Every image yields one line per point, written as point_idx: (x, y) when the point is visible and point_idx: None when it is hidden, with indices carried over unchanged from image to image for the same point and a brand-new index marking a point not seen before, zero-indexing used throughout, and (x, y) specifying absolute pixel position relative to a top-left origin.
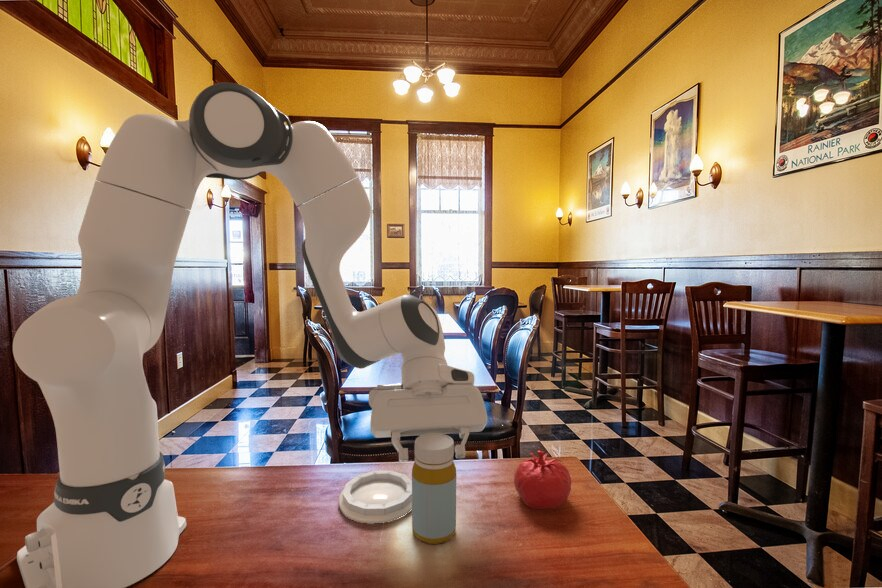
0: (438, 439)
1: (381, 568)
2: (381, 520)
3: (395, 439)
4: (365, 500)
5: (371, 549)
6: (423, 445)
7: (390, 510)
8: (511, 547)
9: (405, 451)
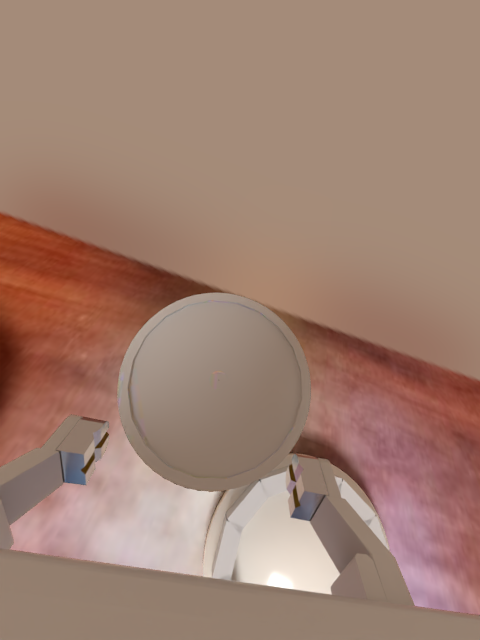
0: (187, 402)
1: (308, 341)
2: (301, 454)
3: (374, 546)
4: None
5: (320, 386)
6: (277, 359)
7: (285, 468)
8: (102, 315)
9: (311, 479)
